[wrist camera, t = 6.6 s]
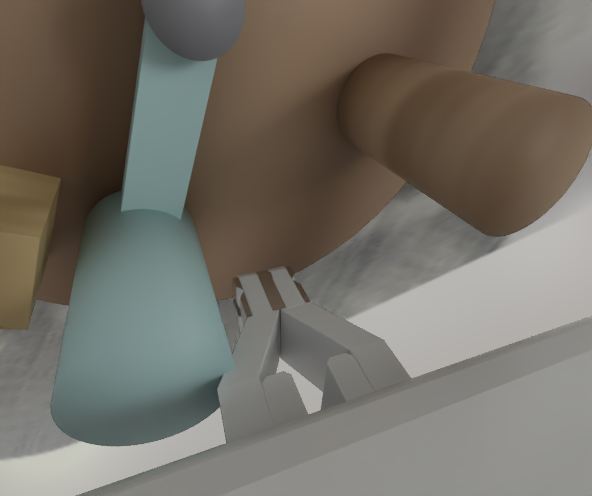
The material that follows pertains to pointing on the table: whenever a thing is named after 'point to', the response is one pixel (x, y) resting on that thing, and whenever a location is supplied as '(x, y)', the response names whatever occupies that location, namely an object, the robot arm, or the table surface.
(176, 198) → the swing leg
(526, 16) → the table surface
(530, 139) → the stool seat
